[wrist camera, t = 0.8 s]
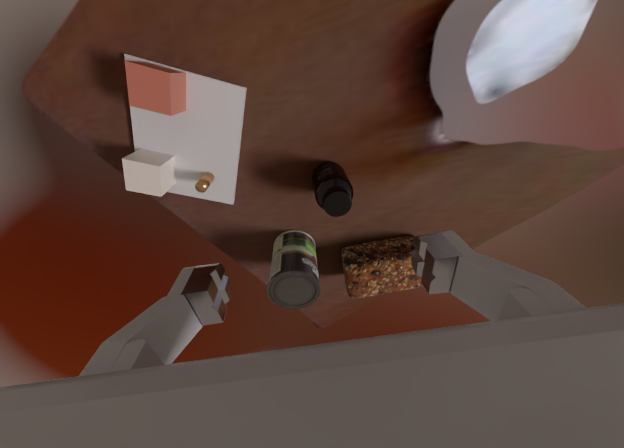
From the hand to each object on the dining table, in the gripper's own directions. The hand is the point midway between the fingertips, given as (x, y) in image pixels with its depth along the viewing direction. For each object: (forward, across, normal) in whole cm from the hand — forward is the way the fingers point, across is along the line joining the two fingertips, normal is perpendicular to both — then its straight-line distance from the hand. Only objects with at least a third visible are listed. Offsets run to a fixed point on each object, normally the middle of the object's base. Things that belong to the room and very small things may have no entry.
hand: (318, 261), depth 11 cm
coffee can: (+40, +6, +29) cm, 49 cm away
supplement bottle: (+40, -4, +12) cm, 42 cm away
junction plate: (+40, +21, +1) cm, 45 cm away
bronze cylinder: (+39, +19, +8) cm, 44 cm away
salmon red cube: (+39, +20, -7) cm, 44 cm away
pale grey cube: (+39, +27, +5) cm, 48 cm away
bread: (+40, -14, +35) cm, 55 cm away
